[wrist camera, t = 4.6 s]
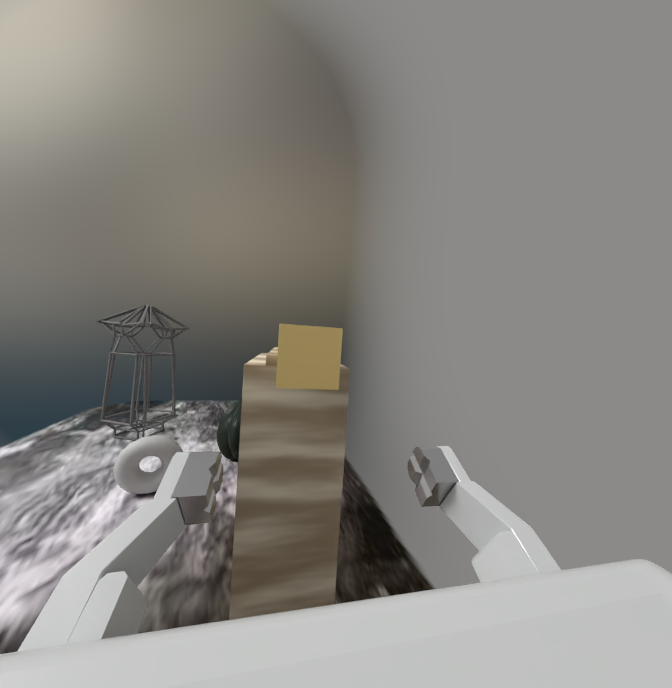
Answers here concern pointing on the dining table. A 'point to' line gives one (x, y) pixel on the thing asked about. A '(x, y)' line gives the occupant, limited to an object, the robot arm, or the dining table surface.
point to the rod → (308, 357)
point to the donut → (129, 459)
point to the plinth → (287, 493)
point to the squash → (230, 432)
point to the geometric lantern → (151, 312)
